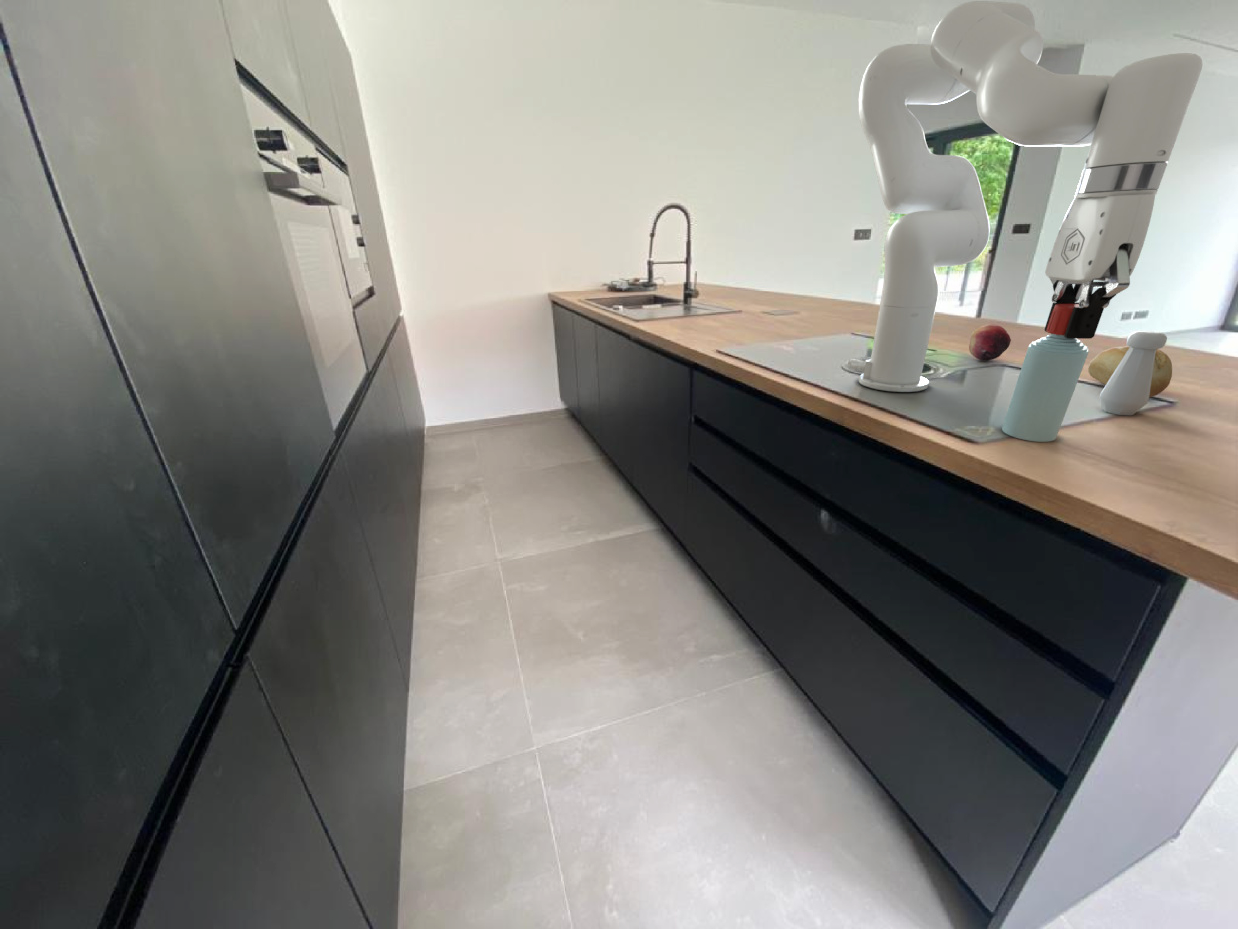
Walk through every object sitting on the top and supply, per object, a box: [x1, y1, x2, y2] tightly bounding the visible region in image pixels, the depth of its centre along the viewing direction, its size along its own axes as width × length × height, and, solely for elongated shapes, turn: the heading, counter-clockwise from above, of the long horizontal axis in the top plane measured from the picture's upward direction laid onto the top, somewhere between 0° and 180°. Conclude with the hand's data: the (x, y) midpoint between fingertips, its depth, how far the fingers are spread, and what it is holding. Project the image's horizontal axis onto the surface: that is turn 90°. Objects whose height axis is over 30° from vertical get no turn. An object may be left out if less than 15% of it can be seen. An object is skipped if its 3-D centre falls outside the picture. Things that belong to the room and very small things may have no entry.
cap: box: [1045, 304, 1079, 335], centre depth 68 cm, size 4×4×4 cm
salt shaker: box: [1099, 330, 1168, 416], centre depth 80 cm, size 6×6×13 cm
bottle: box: [1001, 333, 1090, 443], centre depth 72 cm, size 7×7×18 cm
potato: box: [1087, 345, 1173, 398], centre depth 92 cm, size 10×15×8 cm, turn 166°
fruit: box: [968, 324, 1012, 362], centre depth 115 cm, size 8×8×8 cm
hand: (1068, 333), depth 69 cm, fingers closed on cap, 3 cm apart
